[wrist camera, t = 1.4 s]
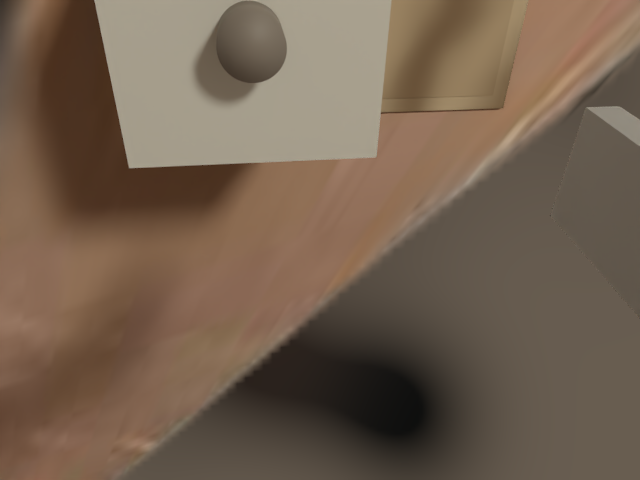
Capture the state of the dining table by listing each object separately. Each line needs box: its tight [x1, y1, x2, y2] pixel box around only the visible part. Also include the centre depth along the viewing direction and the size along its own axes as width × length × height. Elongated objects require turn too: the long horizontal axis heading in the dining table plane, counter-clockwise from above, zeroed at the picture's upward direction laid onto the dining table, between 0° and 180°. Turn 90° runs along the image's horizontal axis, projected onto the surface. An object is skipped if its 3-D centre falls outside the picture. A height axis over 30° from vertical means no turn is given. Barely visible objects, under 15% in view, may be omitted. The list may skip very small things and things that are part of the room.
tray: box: [381, 0, 528, 112], centre depth 34 cm, size 11×11×1 cm
